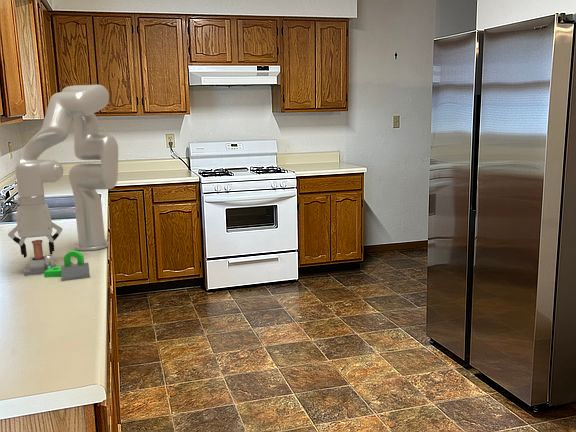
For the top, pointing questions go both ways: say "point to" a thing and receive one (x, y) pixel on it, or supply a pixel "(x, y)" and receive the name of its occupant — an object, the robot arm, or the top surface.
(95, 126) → the robot arm
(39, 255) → the peach peg
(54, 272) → the mechanical part
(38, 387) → the top surface
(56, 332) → the top surface
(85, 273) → the block
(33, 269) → the metal square socket base
